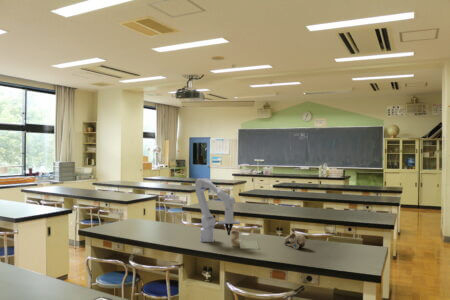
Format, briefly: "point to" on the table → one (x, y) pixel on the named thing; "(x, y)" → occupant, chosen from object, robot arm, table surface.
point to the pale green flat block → (248, 244)
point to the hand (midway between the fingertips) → (228, 234)
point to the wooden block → (234, 237)
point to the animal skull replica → (295, 240)
